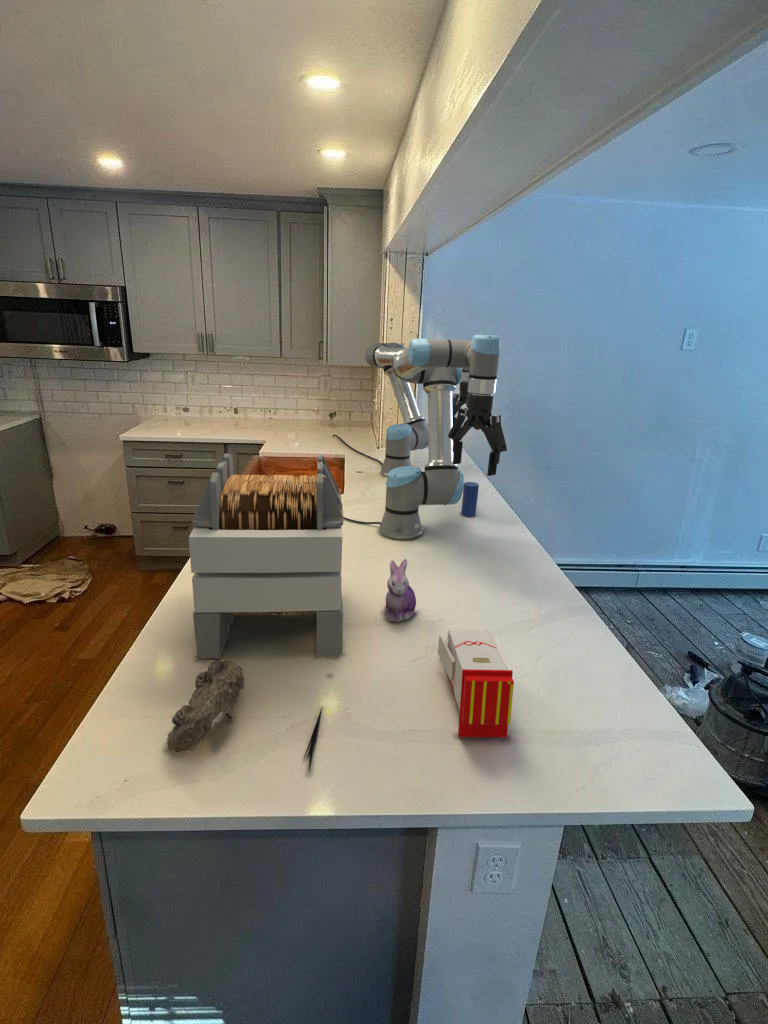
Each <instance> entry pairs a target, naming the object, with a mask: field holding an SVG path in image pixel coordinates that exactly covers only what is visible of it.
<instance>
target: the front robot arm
mask: <svg viewBox="0 0 768 1024" xmlns="http://www.w3.org/2000/svg"><path fill="white" fill-rule="evenodd" d="M408 348H409V349H404V350H401V351H399V352H398V353H397V354H396V355H395V356H394V358H393V360H392V370H393V372H394V374H395V375H396V376H397V377H398V378H400V379H401V380H403V381H406V382H409V383H410V384H418V385H422V390H423V391H424V392H425V393H426V394H427V424H428V440H429V447H428V462H427V464H426V465H424V471H422V469H421V467H419V466H415V465H413V466H412V465H411V466H402V467H397V468H394V469H392V470H390V471H389V473H388V474H387V477H386V480H385V504H384V505H385V507H384V508H385V509H384V513H383V515H382V519H381V521H361V520H356V519H352V518H348V517H345V516H343V517H344V520H345V521H348V522H352V523H355V524H361V525H379V526H378V533H379V534H380V535H381V536H382V537H385V538H387V539H389V540H395V541H410V540H415V539H418V538H420V537H421V536H422V535H423V525H422V524H421V518H420V515H419V507H420V506H447V505H456V504H458V503H459V501H460V500H461V499H462V497H463V488H464V483H465V476H464V473H463V472H462V471H460V470H459V466H458V465H459V464H462V457H463V455H462V454H463V445H464V442H463V438H464V437H465V436H466V435H467V433H468V432H469V431H470V430H471V429H474V427H476V428H477V429H479V430H481V431H480V432H483V434H484V436H485V439H486V440H487V443H488V445H489V447H490V450H491V451H490V452H489V456H488V465H487V474H486V476H489V477H491V476H495V475H497V467H498V465H499V463H500V459H501V458H500V457H501V453H504V452H507V451H508V447H507V443H506V439H505V435H504V431H503V427H502V416H501V415H500V414H496V415H493V414H492V412H493V409H494V408H495V398H496V396H495V395H494V394H495V393H496V387H497V379H498V369H499V361H500V353H501V338H500V336H499V335H493V334H492V335H491V334H474V335H473V336H472V339H439V338H438V339H437V338H424V337H422V338H412V339H411V340H410V342H409V344H408ZM462 368H470V370H469V381H468V390H467V391H468V392H469V394H468V395H467V402H466V404H465V405H466V406H465V407H461V408H460V409H459V410H458V412H457V415H456V420H455V422H454V424H453V415H452V399H453V394H454V393H455V391H456V390H457V385H460V382H461V374H462ZM466 418H467V419H466Z"/></svg>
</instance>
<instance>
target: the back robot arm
mask: <svg viewBox="0 0 768 1024" xmlns="http://www.w3.org/2000/svg"><path fill="white" fill-rule="evenodd" d="M404 349H409V347H406V346H404V345H403V344H402V343H398V342H375V343H372V344H370V345H369V346H368V347H367V348H366V350H365V354H364V359H365V361H366V363H367V364H368V365H369V366H370V367H371V368H375V369H382V371H383V373H384V376H387V377H388V378H389V381H390V385H391V387H392V391H393V394H394V397H395V400H396V403H397V405H398V408H399V411H400V414H401V417H402V420H403V423H394V424H391V425H389V426H388V427H387V429H386V434H385V457H384V460H383V462H382V461H380V460H379V459H378V458H375V457H372V456H370V455H367V454H365V453H363V452H361V451H359V450H358V449H356V448H353V446H351V445H349V444H348V443H346V442H345V441H344V440H343V438H341V437H340V436H339V435H337V434H332V438H334V437H336V438H337V439H339V440H340V441H341V442H342V443H343V444H344V445H345V446H347V447H348V448H349V449H351V450H352V451H354V452H356V453H358V454H360V455H361V456H363V457H366V458H369V459H370V460H373V461H376V462H378V463H379V464H380V465H381V467H380V475H382V476H384V477H386V478H387V474H388V473H389V471H390V470H392V469H394V468H397V467H402V466H412V463H411V460H410V459H411V457H410V456H411V452H413V451H417V450H424V449H425V448H426V449H427V448H429V440H428V422H427V420H426V418H425V417H423V416H421V412H420V409H419V407H418V403H417V401H416V398H415V395H414V392H413V389H412V386H411V383H409V382H406V381H403V380H401V379H400V378H398V377H397V376H396V375H395V374H394V372H393V370H392V360H393V358H394V356H395V355H396V354H397V353H398V352H399V351H401V350H404ZM469 370H470V368H462V374H461V381H460V383H459V387H458V388H459V393H455V392H453V393H452V415H453V424H454V422H455V420H456V418H457V414H458V410H459V409H460V408H463V406H464V405H466V402H467V395H468V394H469V392H468V391H467V390H468V381H469ZM473 429H474V430H476V431H479V430H480V429H477V428H476V427H474V428H473Z"/></svg>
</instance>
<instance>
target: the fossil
mask: <svg viewBox="0 0 768 1024" xmlns="http://www.w3.org/2000/svg"><path fill="white" fill-rule="evenodd" d="M243 670H244V669H243V667H242V665H240V664H237V662H236V661H235V660H234V659H232V658H231V659H227V658H226V659H224V660H223V661H222V660H217V659H212V660H211V661H210V663H209V665H208V666H207V671H201V672H199V673H198V674H197V675H196V676H195V680H194V684H195V685H194V687H195V689H194V690H193V693H192V694H191V697H190V698H189V700H188V704H184V705H182V706H181V707H180V709H177V710H176V711H175V713H174V715H173V716H172V718H171V723H172V724H173V727H172V730H171V731H170V732H168V734H167V738H166V741H167V742H166V745H167V749H168V750H169V751H173V752H174V753H176V754H178V753H182V752H188V751H189V752H192V751H193V750H195V748H196V747H197V746H199V744H200V743H201V742H203V741H204V740H205V739H206V738H207V737H208V736H209V735H210V734H211V733H212V732H214V730H215V729H217V727H218V726H219V724H220V722H221V721H222V720H223V719H224V718H225V716H226V717H227V719H229V720H233V717H232V715H230V714H229V710H230V709H231V708H234V706H235V704H236V703H237V702H238V699H239V697H240V695H241V693H242V691H243V690H245V689H244V688H245V675H244V671H243Z"/></svg>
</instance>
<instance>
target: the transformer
mask: <svg viewBox="0 0 768 1024" xmlns="http://www.w3.org/2000/svg"><path fill="white" fill-rule="evenodd" d="M316 457H317V458H316V463H317V465H316V466H317V467H316V475H309V476H308V475H304V474H303V475H302V474H301V475H298V476H295V475H293V474H272V475H265V474H242V475H241V474H235V472H234V458H233V453H227V452H225V453H224V454H223V456H222V458H221V460H219V461H218V464H217V466H216V468H215V469H214V470H215V471H214V472H211V475H210V477H209V479H208V481H207V484H206V486H205V488H204V489H203V493H202V494H201V496H200V499H199V502H198V504H197V507H196V509H195V510H194V513H193V516H192V518H191V520H192V526H193V528H192V530H191V532H190V534H189V536H188V547H189V558H190V559H189V560H190V572H191V574H193V575H192V577H191V584H192V585H191V586H192V597H193V609H194V610H193V612H192V614H193V615H192V617H193V618H192V619H193V629H194V640H195V648H196V655H195V657H196V659H197V660H203V659H220V657H221V654H222V652H223V649H224V648H225V645H226V643H227V640H228V638H229V636H230V626H232V625H233V621H234V618H235V616H250V615H251V616H253V615H254V616H256V615H257V616H260V615H263V616H265V615H267V616H269V615H275V616H276V615H277V616H278V615H305V614H306V615H308V614H309V615H311V614H313V615H316V657H335V658H337V657H340V656H342V655H343V647H344V646H343V644H344V643H343V642H344V641H343V640H344V639H343V638H344V608H343V607H344V606H343V605H344V604H343V595H342V579H343V577H342V567H343V566H342V565H343V564H342V562H343V530H342V529H343V528H342V527H343V525H344V520H345V519H344V517H345V516H344V510H343V500H342V494H341V493H342V492H341V491H340V488H339V486H338V484H337V482H336V480H335V477H334V475H333V474H332V471H331V469H330V466H329V465H328V462H327V461H326V458H325V456H324V454H320V453H317V455H316Z"/></svg>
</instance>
